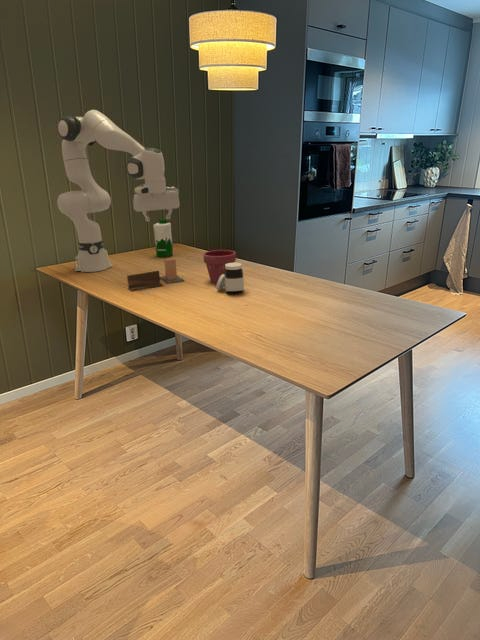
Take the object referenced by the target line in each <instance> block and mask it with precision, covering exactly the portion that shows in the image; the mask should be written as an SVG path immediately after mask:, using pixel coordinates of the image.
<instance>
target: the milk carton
mask: <svg viewBox="0 0 480 640" xmlns="http://www.w3.org/2000/svg"><path fill="white" fill-rule="evenodd" d="M152 227H153V232H154V233H153V234H154V243H155V244H154V245H155V251H156V258H157V257H169V258H171V257H172V256H173V252H174V251H173V250H174V249H173V238H172V224H171V222H168V221H167V219H166V218H162V219H158V222H157V223H154V224H153V225H152ZM171 255H172V256H171Z"/></svg>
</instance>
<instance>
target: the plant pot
mask: <svg viewBox="0 0 480 640" xmlns="http://www.w3.org/2000/svg"><path fill="white" fill-rule="evenodd" d="M236 254H237V253H236V251H234V250H229V249H214V250H209V251H205V252H204V253H203V263H205V265H206V269H207V272H208V276H209V280H210V282H211V283H212V284H213V283H214V284H217V282H218V279H219V278H220V276H221V275H222V274H224V275H225V264H227V263H236V260H237V255H236Z"/></svg>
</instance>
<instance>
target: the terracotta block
mask: <svg viewBox="0 0 480 640" xmlns="http://www.w3.org/2000/svg"><path fill="white" fill-rule="evenodd" d="M163 260H164V261H163V262H164V272H165V276H166V279H168V280H172V279H177V276H178V274H177V273H178V272H177V271H178V270H177V263H176V260H177V259H176V258H173V257H169V258H163Z"/></svg>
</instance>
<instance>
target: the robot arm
mask: <svg viewBox="0 0 480 640" xmlns="http://www.w3.org/2000/svg"><path fill="white" fill-rule="evenodd" d="M56 128H57V131H58V132H57V133H58V135H59V136H60V138H61V139H62V142H61V153H62V159H63V164H64V169H65V173H66V177H67V179H68V180H69V181H70V182H71V183H73V184H77V185H78V187H80V189H81V190H71V191H66V192H63V193H61V194H59V195H58V197H57V199H56V200H57V202H56V204H57V208H58V209H59V211H60V212H61V213H62V214H63V215H65V216H67V218H69V219H70V220H71V221H72V223H73V225H74V226H75V229H76V233H77V238H78V243H77V244H78V245H77V246H78V254H77V255H76V256H75V257H74V258H75V261H76V264H75V268H74V269H75V272H76V271H81V272H82V273H83V272H84V273H94V272H100V271H104V270H108V269H109V268H111V267H114V264H113V263H111V262H110V259H109V255H108V251H107V250H106V249H105V247H104V241H103V239H102V233H101V227H100V224H99V223H98V222H96V221H94V220H92V219H89V218H88V215H87V214H92V213H99V212H103V211H106V210H109V208H110V206H111V202H112V201H111V196H110V194H109V192H107V190H105V189H103V188H102V187H101V186H99V184H98V183H97V182H96V181H95V179H94V177H93V174H92V172H91V168H90V164H89V160H88V156H87V146H90V147H91V146H93V145H95V144H96V143H97V144H99V146H102V147H103V148H105V149H107V150H112V151H121V152H126V153H129V154H131V155H132V156H131V157H129V158H128V160H127V161H126V171H127V174H128V175H129V177H130V178H131V179H132V180H134V179H135V180H144V183H143V184H141V185H139V186H136V187H135V188H134V193H135V194H134V195H133V210H134V211H135V212H137V213H140V212H142V214H143V216H144V219H145V221H146V222H150V221H151V219H150V218H151V217H150V216H148V215H147V213H148V212H149V211H150V212H151V211H161V210H163V211H164V210H167V211H168V213H167V214H165V219H166V220H171V215H172V213H173V210H174V209H179V208H180V206H181V204H180V198H179V188H177V187H175V186H167V184H166V177H165V170H166V164H165V160H164V155H163V153H162V150H161V149H159V148H154V147H146V146H144V145H143V144H142V143H140V142H139V141H138V140H137V139H136V138H134V137H133V136H131V135H130V134H129V133H127V132H125V130H124V131H123V129H121V128H120V127H119V126H118V125H116V124H115V123H114V121H112V120H111V119H110V118H109V117H107V115H105V114H104V113H102V112H100V111H99V110H97V109H91V110H88V111H87V112H85V114H84V116H71V115H67V116H62V117H61V118H60V119H58V123H57V127H56Z"/></svg>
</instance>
